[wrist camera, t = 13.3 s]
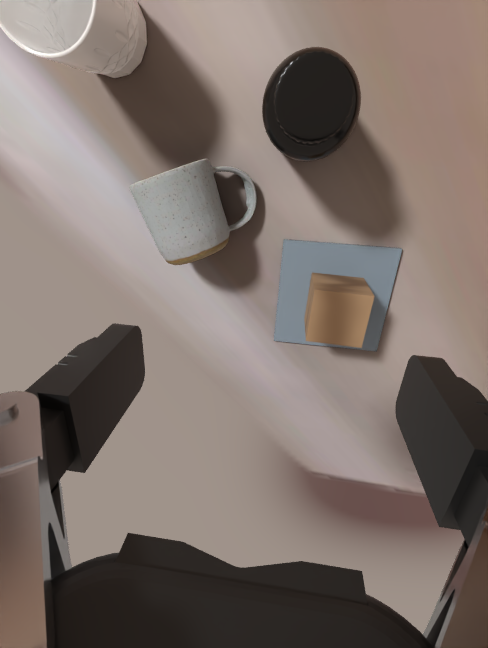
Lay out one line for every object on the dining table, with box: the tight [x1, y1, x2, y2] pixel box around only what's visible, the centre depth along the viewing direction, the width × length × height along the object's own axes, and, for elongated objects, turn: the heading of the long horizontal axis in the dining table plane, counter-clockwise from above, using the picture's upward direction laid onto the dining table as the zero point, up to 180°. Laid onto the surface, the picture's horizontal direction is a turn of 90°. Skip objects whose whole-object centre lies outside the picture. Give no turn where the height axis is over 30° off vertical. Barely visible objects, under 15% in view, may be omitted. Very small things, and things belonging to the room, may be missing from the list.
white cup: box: [0, 0, 147, 78], centre depth 26 cm, size 8×8×10 cm
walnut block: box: [304, 273, 375, 348], centre depth 36 cm, size 6×6×6 cm
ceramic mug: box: [130, 159, 257, 265], centre depth 33 cm, size 11×8×8 cm
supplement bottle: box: [262, 47, 361, 161], centre depth 26 cm, size 7×7×12 cm
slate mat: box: [274, 239, 402, 351], centre depth 38 cm, size 12×12×1 cm
